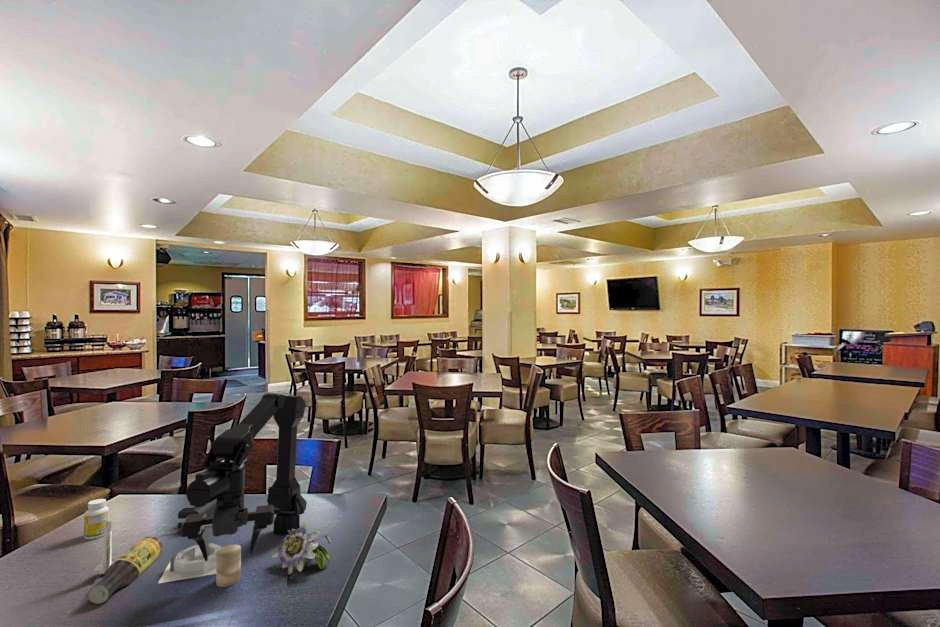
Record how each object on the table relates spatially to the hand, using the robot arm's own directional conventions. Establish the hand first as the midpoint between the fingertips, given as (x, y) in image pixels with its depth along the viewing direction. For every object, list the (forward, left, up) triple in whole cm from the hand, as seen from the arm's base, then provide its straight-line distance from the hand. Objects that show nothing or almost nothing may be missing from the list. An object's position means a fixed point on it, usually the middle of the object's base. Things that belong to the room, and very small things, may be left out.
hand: (229, 556), depth 103 cm
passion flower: (-16, -3, -7) cm, 18 cm away
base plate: (+8, -9, -6) cm, 14 cm away
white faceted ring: (+8, -9, -5) cm, 14 cm away
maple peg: (0, 0, -6) cm, 6 cm away
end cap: (+13, -36, -7) cm, 39 cm away
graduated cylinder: (+28, -14, -7) cm, 32 cm away
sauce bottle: (+21, -19, -3) cm, 28 cm away
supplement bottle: (+39, -39, -7) cm, 56 cm away
